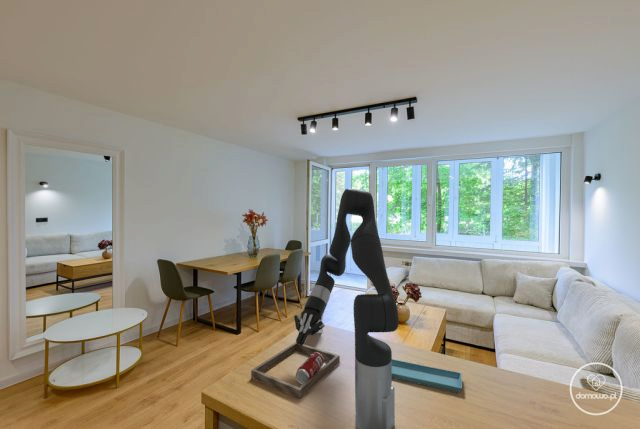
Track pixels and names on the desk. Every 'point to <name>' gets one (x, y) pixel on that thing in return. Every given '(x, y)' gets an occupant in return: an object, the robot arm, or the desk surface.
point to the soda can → (309, 367)
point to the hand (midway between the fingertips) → (298, 344)
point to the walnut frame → (289, 388)
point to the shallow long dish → (427, 375)
